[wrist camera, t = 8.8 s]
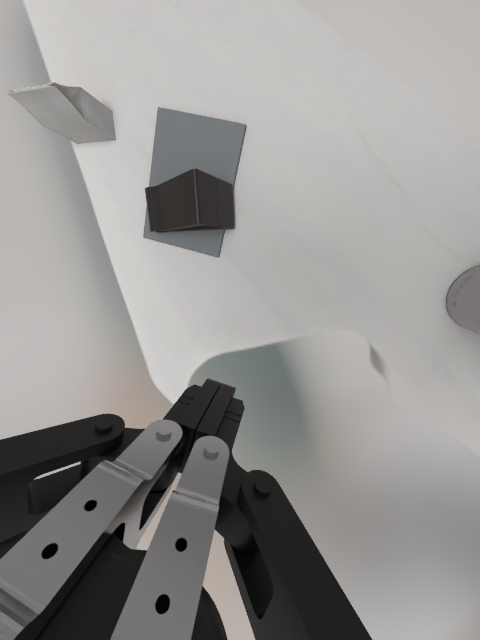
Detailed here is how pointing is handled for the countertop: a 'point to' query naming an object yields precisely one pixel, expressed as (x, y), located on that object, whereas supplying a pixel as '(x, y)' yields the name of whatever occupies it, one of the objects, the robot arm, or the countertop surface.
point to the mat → (194, 165)
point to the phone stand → (190, 203)
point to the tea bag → (67, 112)
